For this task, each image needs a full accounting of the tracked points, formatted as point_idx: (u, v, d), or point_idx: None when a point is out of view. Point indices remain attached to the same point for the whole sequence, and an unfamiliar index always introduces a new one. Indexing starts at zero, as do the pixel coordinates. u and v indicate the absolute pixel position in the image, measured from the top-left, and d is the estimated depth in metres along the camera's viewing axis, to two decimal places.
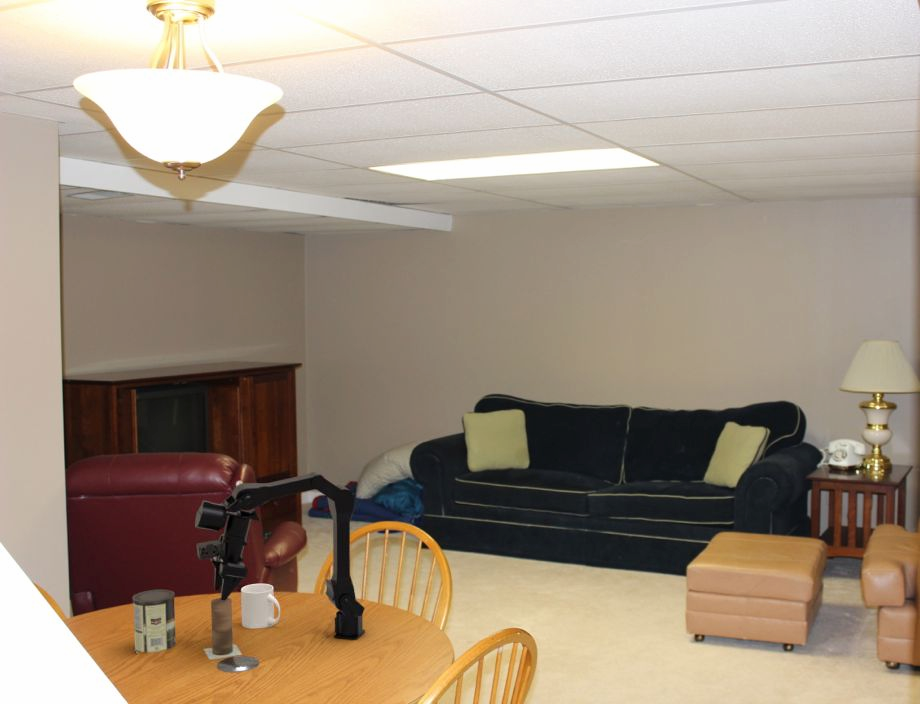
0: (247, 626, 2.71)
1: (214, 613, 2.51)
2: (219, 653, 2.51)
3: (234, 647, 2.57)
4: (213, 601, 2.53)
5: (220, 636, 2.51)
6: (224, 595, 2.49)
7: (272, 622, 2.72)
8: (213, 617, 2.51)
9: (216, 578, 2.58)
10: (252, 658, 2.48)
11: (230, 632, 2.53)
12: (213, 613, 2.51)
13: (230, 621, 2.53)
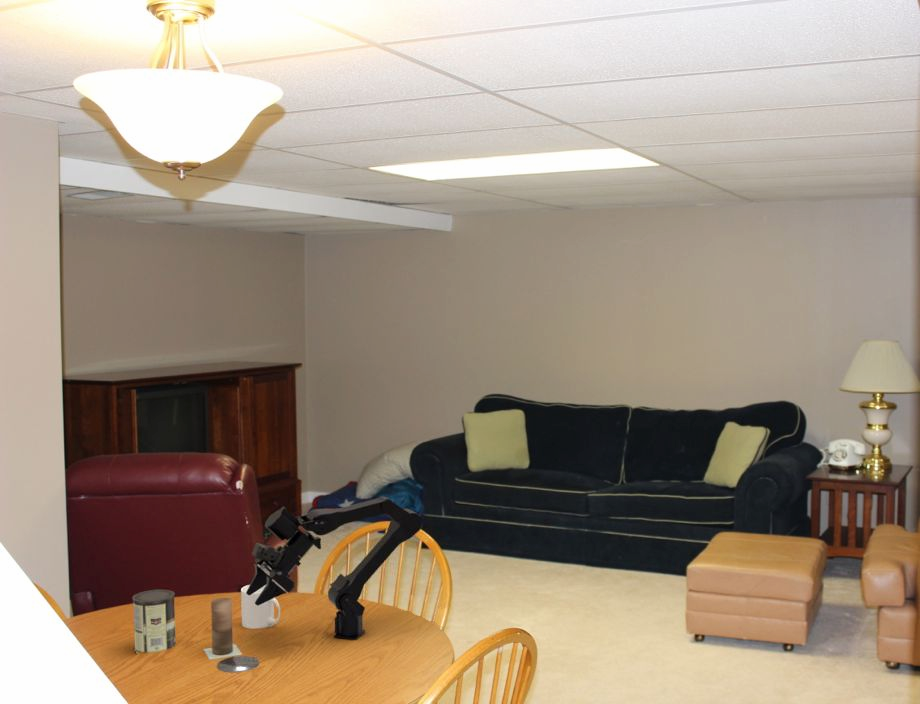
0: (247, 626, 2.71)
1: (214, 613, 2.51)
2: (219, 653, 2.51)
3: (234, 647, 2.57)
4: (213, 601, 2.53)
5: (220, 636, 2.51)
6: (260, 600, 2.52)
7: (272, 622, 2.72)
8: (213, 617, 2.51)
9: (253, 583, 2.61)
10: (252, 658, 2.48)
11: (230, 632, 2.53)
12: (213, 613, 2.51)
13: (230, 621, 2.53)
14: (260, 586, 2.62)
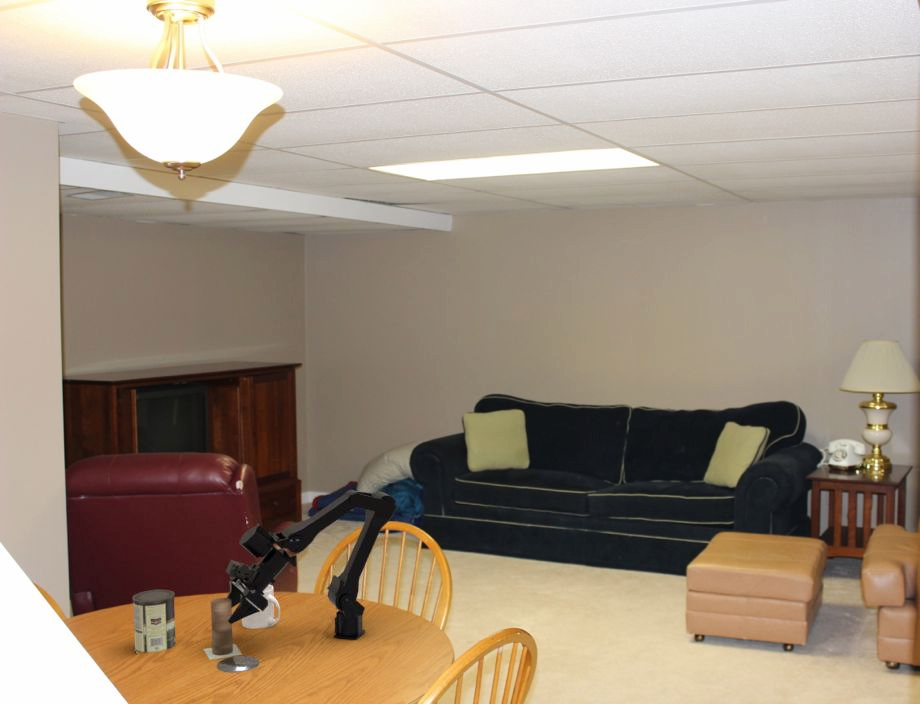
0: (247, 626, 2.71)
1: (214, 613, 2.51)
2: (219, 653, 2.51)
3: (234, 647, 2.57)
4: (213, 601, 2.53)
5: (220, 636, 2.51)
6: (233, 618, 2.49)
7: (272, 622, 2.72)
8: (213, 617, 2.51)
9: None
10: (252, 658, 2.48)
11: (230, 632, 2.53)
12: (213, 613, 2.51)
13: None
14: (234, 603, 2.59)
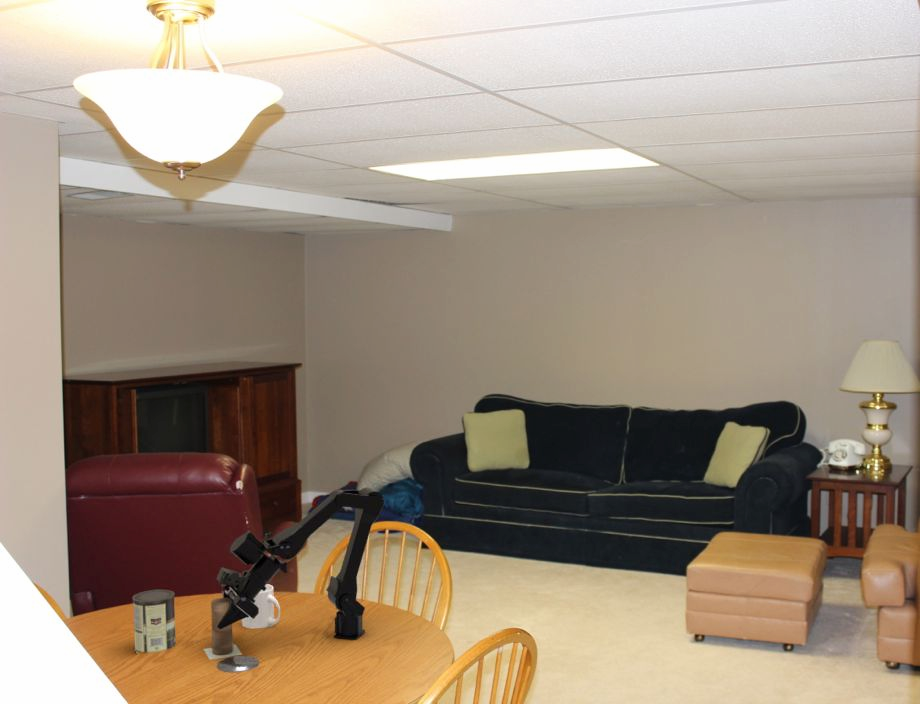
0: (247, 626, 2.71)
1: (214, 613, 2.51)
2: (219, 653, 2.51)
3: (234, 647, 2.57)
4: (213, 601, 2.53)
5: (220, 636, 2.51)
6: (222, 624, 2.50)
7: (272, 622, 2.72)
8: (213, 617, 2.51)
9: None
10: (252, 658, 2.48)
11: (230, 632, 2.53)
12: (213, 613, 2.51)
13: None
14: None
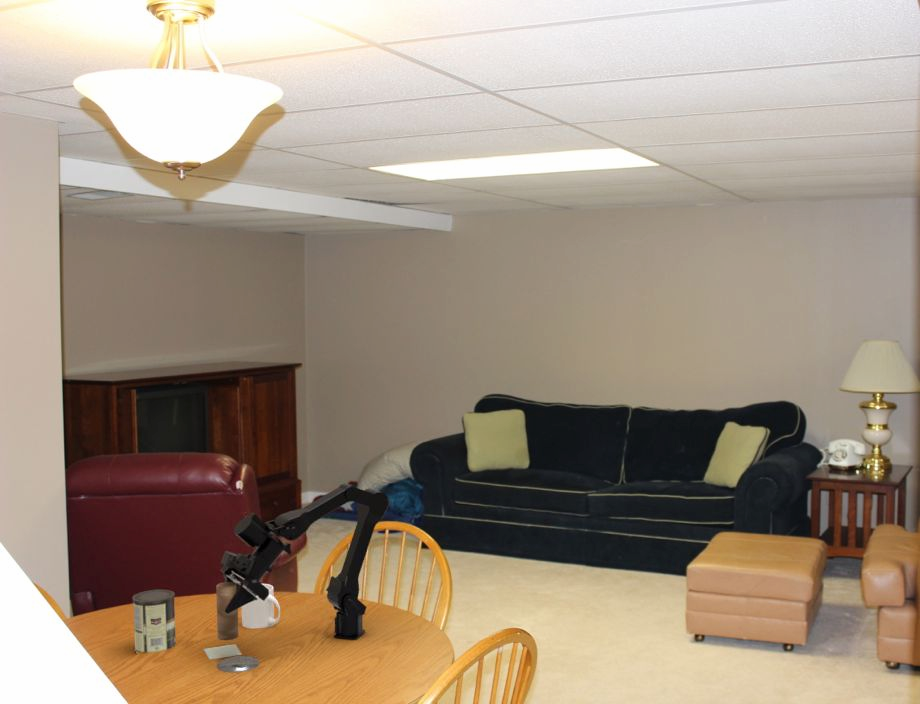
0: (247, 626, 2.71)
1: (220, 597, 2.46)
2: (226, 638, 2.47)
3: (234, 647, 2.57)
4: (218, 585, 2.48)
5: (227, 620, 2.46)
6: (230, 608, 2.46)
7: (272, 622, 2.72)
8: (219, 602, 2.46)
9: None
10: (252, 658, 2.48)
11: (236, 616, 2.48)
12: (219, 597, 2.46)
13: None
14: None
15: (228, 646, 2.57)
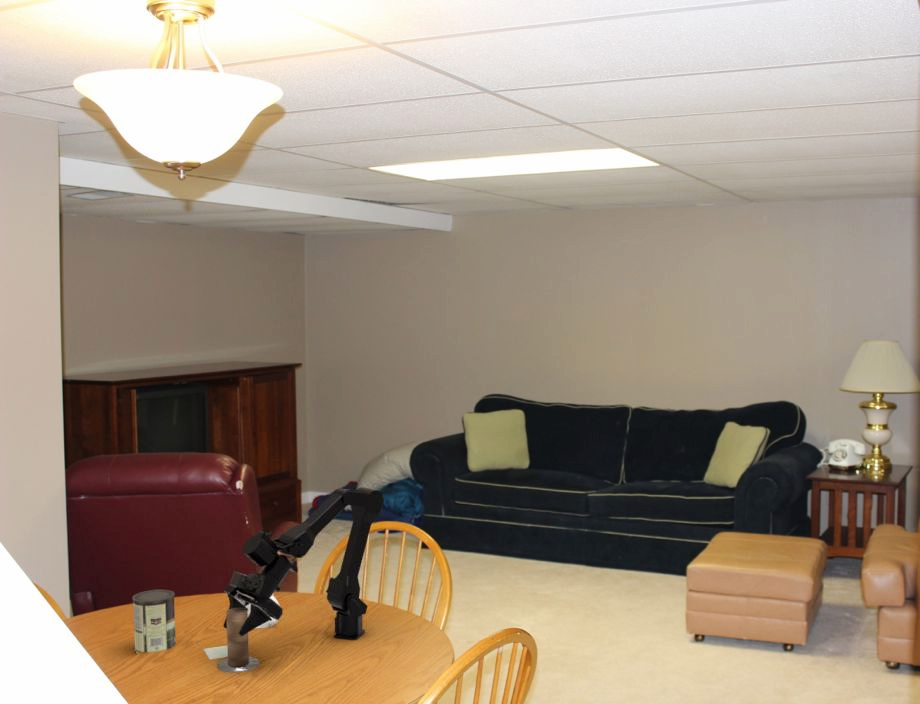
0: None
1: (232, 624, 2.42)
2: (238, 665, 2.43)
3: None
4: (229, 612, 2.43)
5: (239, 647, 2.43)
6: (244, 630, 2.41)
7: (272, 622, 2.72)
8: (231, 628, 2.42)
9: None
10: (252, 658, 2.48)
11: (247, 642, 2.45)
12: (231, 624, 2.42)
13: None
14: None
15: None
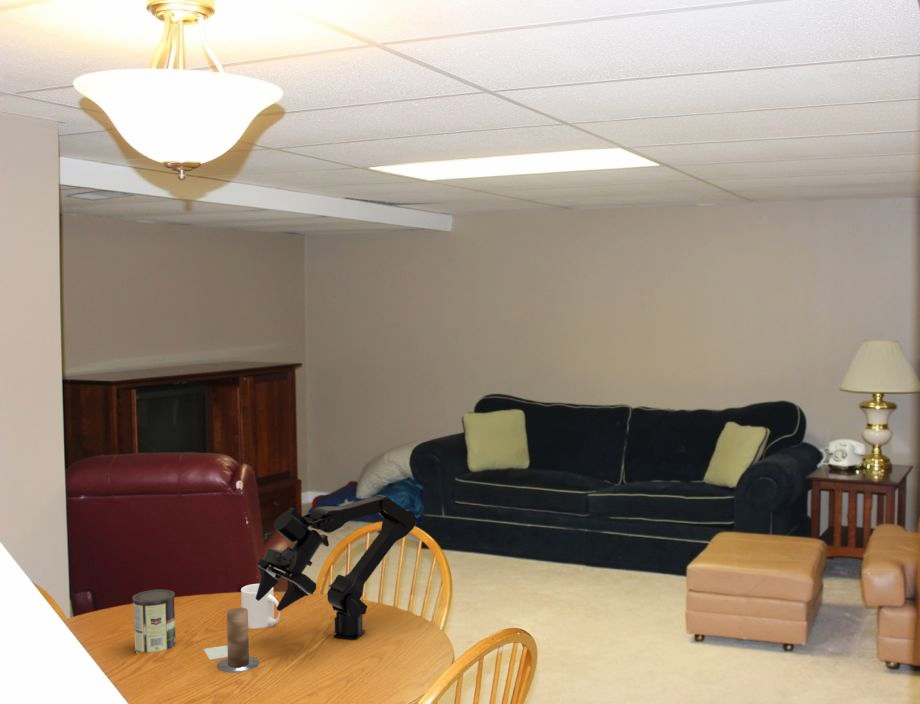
0: None
1: (232, 624, 2.42)
2: (238, 665, 2.43)
3: None
4: (229, 612, 2.43)
5: (240, 647, 2.43)
6: (282, 605, 2.48)
7: (272, 622, 2.72)
8: (231, 628, 2.42)
9: (261, 588, 2.55)
10: (252, 658, 2.48)
11: (248, 642, 2.45)
12: (231, 624, 2.42)
13: None
14: (268, 590, 2.57)
15: None
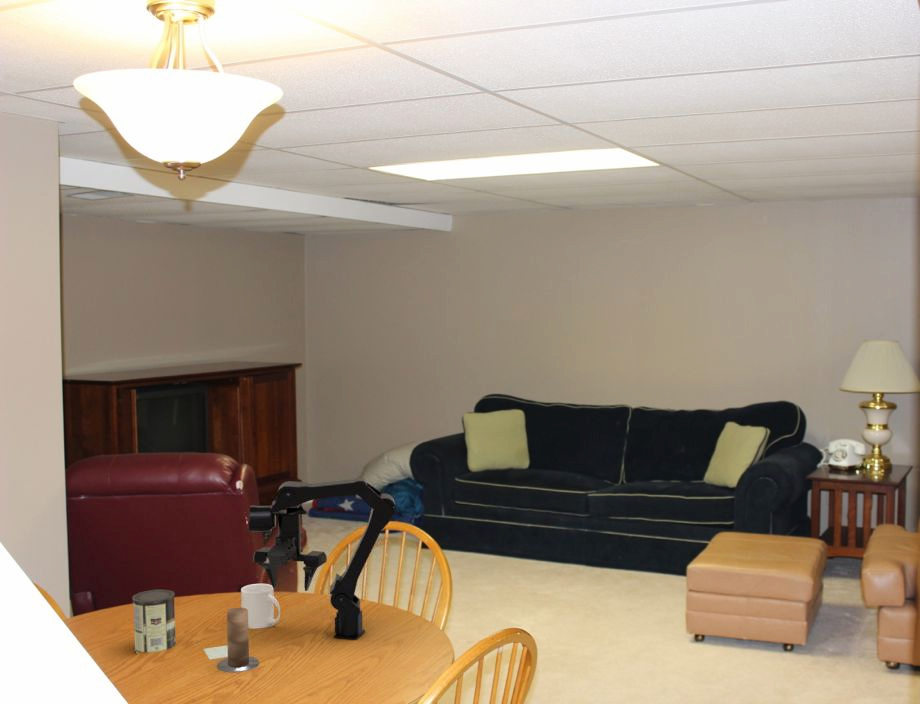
0: None
1: (233, 624, 2.42)
2: (238, 665, 2.43)
3: None
4: (229, 612, 2.43)
5: (240, 647, 2.43)
6: (308, 585, 2.64)
7: (272, 622, 2.72)
8: (231, 628, 2.42)
9: (273, 577, 2.66)
10: (252, 658, 2.48)
11: (248, 642, 2.45)
12: (231, 624, 2.42)
13: None
14: (276, 573, 2.68)
15: None
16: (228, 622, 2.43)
